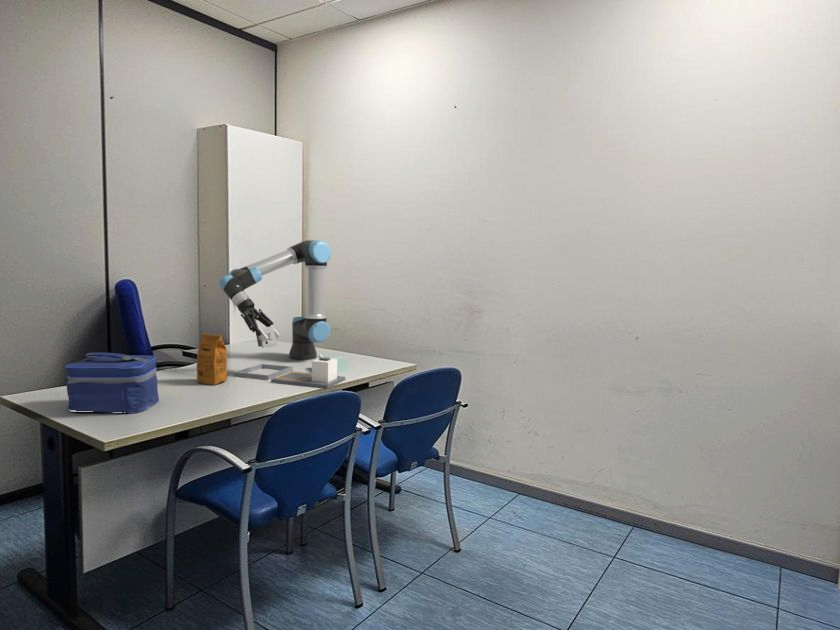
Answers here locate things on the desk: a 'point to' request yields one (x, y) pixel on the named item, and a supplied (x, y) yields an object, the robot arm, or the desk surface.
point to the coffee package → (211, 360)
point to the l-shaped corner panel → (340, 363)
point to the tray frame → (260, 376)
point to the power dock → (307, 381)
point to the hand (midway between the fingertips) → (271, 338)
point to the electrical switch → (271, 337)
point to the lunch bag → (112, 383)
